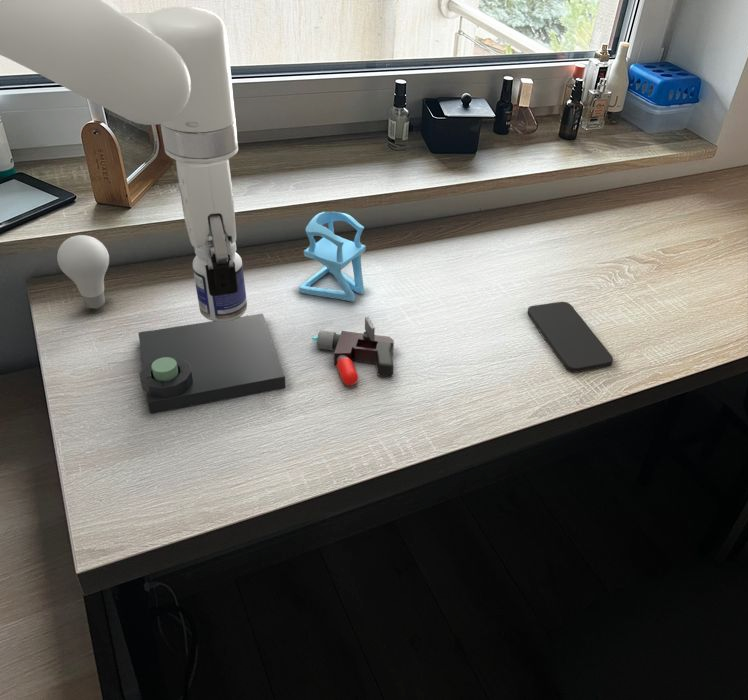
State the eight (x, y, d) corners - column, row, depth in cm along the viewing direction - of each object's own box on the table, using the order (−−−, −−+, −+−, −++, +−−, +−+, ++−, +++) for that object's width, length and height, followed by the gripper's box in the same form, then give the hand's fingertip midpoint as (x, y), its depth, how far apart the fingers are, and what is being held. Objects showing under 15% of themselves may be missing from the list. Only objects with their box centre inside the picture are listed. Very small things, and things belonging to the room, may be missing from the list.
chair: (344, 309, 106) (344, 238, 99) (298, 291, 108) (294, 220, 101) (372, 285, 112) (374, 216, 104) (327, 269, 114) (326, 200, 107)
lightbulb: (113, 290, 104) (96, 222, 97) (125, 312, 100) (109, 243, 94) (67, 301, 101) (46, 232, 94) (78, 324, 97) (58, 254, 90)
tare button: (154, 383, 85) (152, 373, 84) (152, 369, 87) (150, 359, 86) (179, 379, 86) (177, 369, 85) (177, 365, 88) (175, 355, 87)
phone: (570, 369, 99) (524, 306, 109) (568, 374, 99) (524, 311, 110) (616, 361, 101) (568, 300, 112) (615, 365, 102) (567, 304, 112)
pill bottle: (253, 300, 93) (247, 233, 87) (238, 326, 89) (229, 257, 83) (210, 294, 93) (200, 226, 87) (192, 320, 89) (180, 250, 83)
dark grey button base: (147, 414, 86) (142, 392, 84) (138, 344, 95) (133, 322, 93) (285, 387, 92) (284, 366, 90) (263, 324, 101) (261, 303, 99)
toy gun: (314, 337, 100) (312, 309, 97) (399, 348, 100) (401, 320, 97) (296, 383, 93) (294, 354, 90) (388, 394, 93) (390, 365, 90)
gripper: (155, 108, 82) (178, 247, 93) (171, 174, 70) (196, 324, 81) (223, 104, 84) (238, 240, 95) (251, 167, 72) (264, 313, 84)
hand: (219, 277), depth 88 cm, fingers closed on pill bottle, 5 cm apart
